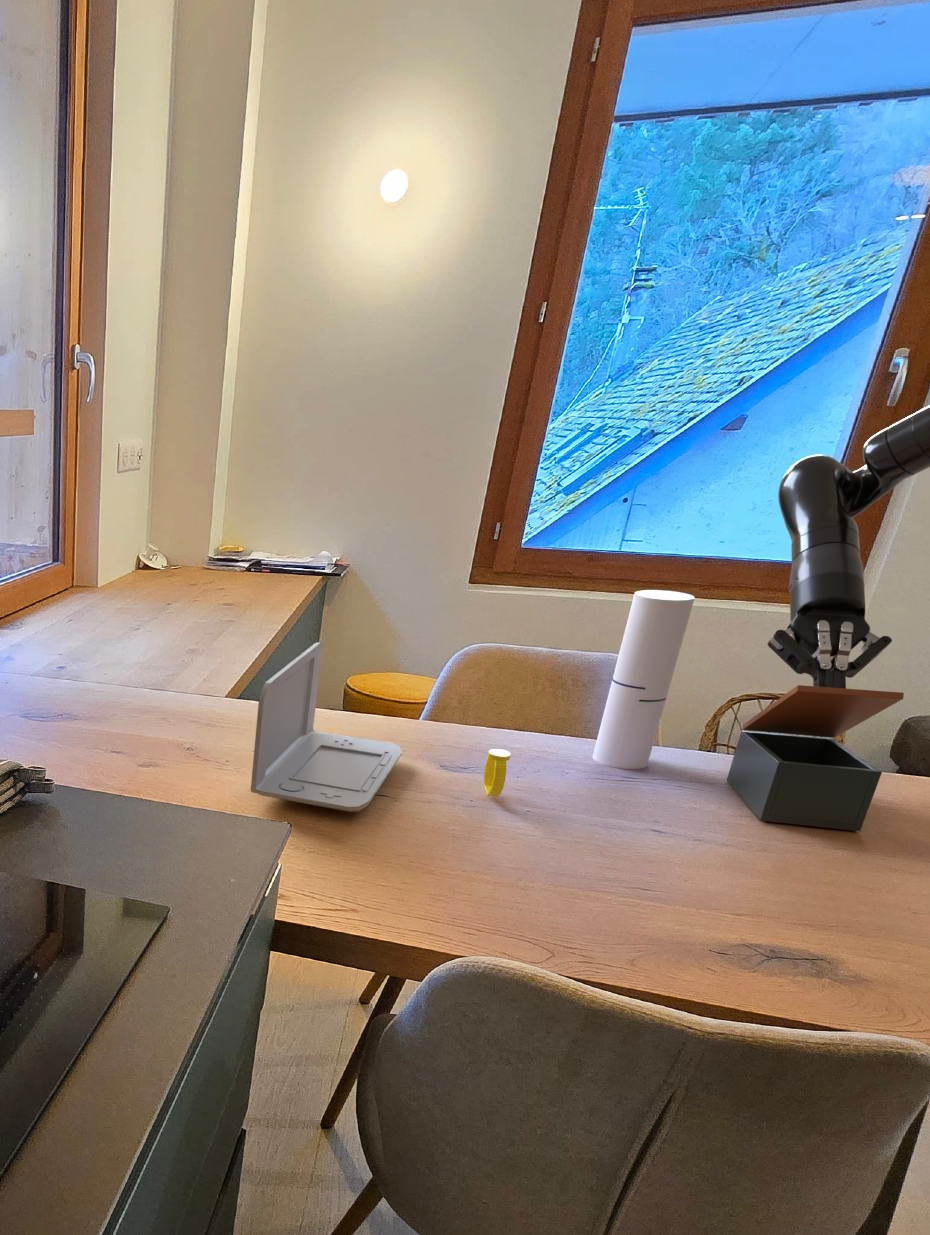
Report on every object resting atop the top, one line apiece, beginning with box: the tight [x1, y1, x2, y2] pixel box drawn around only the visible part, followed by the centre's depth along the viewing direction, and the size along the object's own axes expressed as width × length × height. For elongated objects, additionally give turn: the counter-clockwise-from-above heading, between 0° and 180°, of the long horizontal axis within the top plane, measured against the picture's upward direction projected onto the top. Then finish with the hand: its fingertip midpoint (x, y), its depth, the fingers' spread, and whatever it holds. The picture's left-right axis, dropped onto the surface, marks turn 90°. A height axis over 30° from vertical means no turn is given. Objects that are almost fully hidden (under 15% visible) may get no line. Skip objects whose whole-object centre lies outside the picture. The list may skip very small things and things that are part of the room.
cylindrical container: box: [592, 589, 695, 770], centre depth 138 cm, size 7×7×25 cm
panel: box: [741, 684, 905, 739], centre depth 123 cm, size 16×11×1 cm
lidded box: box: [726, 730, 883, 832], centre depth 126 cm, size 16×11×8 cm
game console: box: [250, 641, 403, 813], centre depth 134 cm, size 28×15×15 cm, turn 149°
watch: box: [483, 748, 512, 797], centre depth 130 cm, size 6×3×6 cm, turn 167°
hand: (830, 700), depth 120 cm, fingers closed
